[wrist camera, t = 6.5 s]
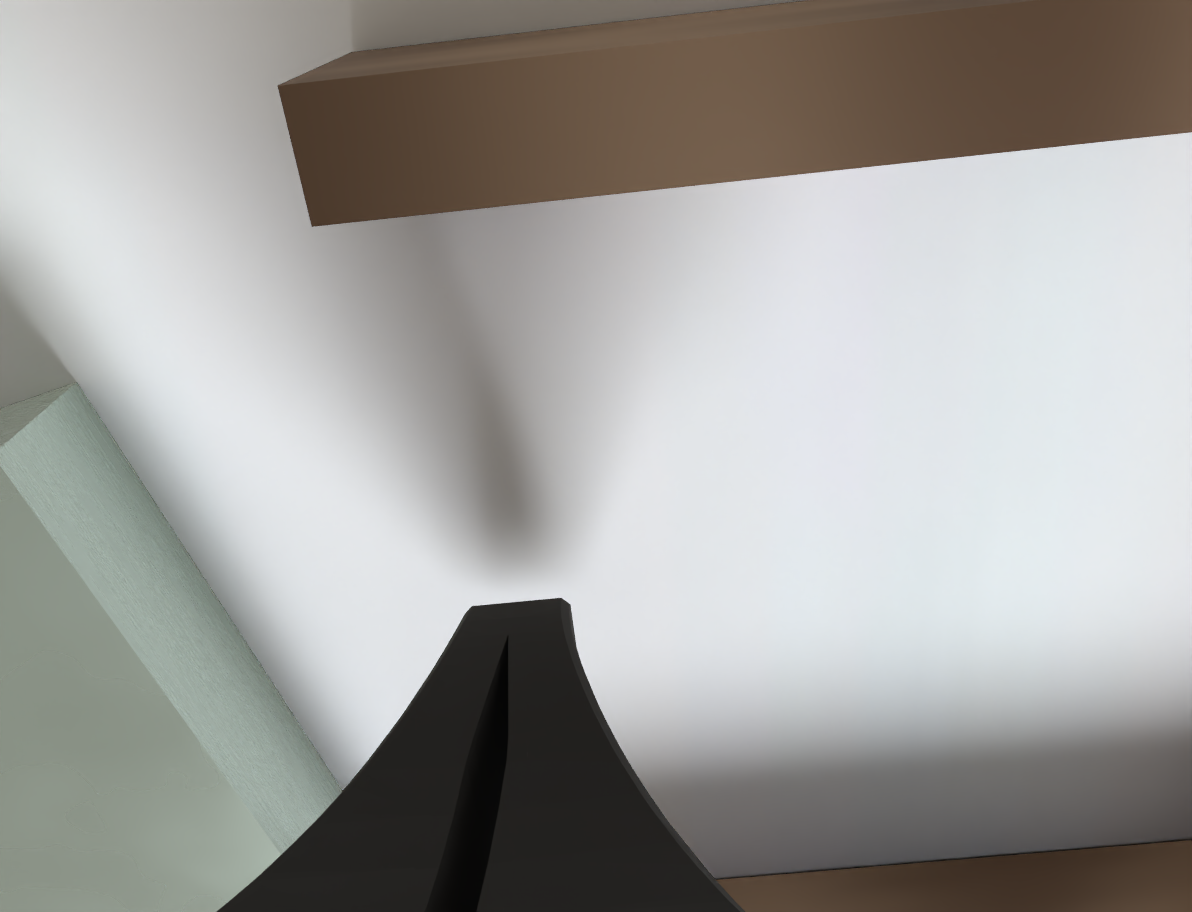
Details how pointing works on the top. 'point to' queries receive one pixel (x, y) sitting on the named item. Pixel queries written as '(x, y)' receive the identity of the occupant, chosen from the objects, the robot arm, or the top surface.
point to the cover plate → (126, 694)
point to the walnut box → (752, 151)
